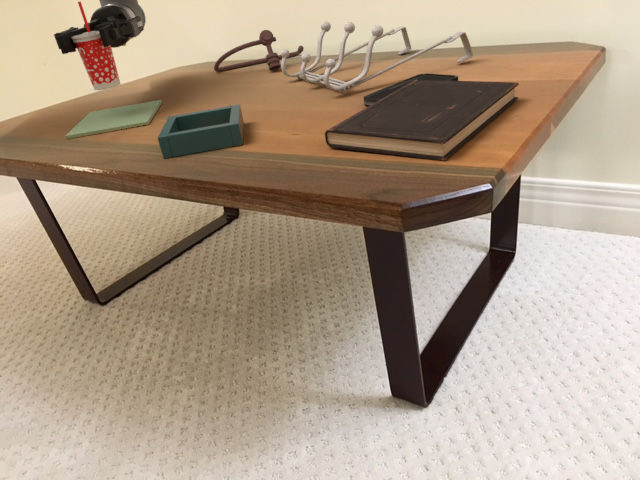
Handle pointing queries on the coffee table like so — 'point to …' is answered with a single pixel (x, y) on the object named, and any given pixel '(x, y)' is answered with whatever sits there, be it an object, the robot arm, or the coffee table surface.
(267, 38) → the toilet paper hanger
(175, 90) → the coffee table surface
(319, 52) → the over door rack
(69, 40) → the robot arm
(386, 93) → the phone
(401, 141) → the hardcover book
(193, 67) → the coffee table surface
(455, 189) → the coffee table surface
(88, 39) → the beverage cup
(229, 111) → the open rectangular box
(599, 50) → the coffee table surface
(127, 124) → the mat
